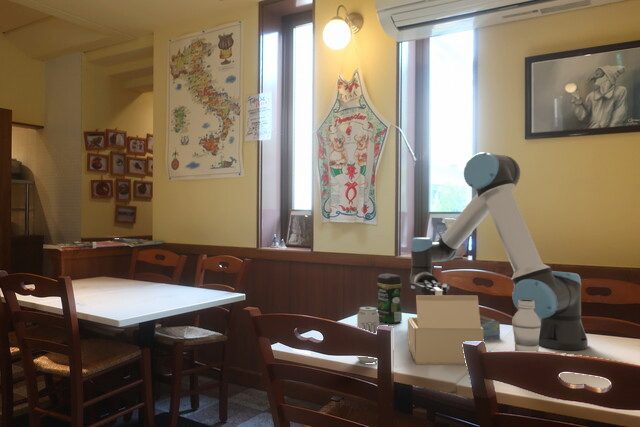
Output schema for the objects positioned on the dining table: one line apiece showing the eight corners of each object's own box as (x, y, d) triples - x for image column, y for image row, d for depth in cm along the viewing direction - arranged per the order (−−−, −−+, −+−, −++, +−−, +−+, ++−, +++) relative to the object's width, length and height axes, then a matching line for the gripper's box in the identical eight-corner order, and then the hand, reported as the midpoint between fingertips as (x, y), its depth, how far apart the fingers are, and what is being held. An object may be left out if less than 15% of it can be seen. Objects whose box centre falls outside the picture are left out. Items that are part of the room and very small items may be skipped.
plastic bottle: (547, 386, 114) (546, 302, 115) (520, 387, 114) (519, 302, 114) (533, 377, 121) (532, 297, 121) (507, 378, 120) (507, 298, 121)
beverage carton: (480, 341, 157) (480, 320, 157) (448, 328, 176) (447, 310, 176) (500, 339, 160) (500, 319, 160) (466, 326, 178) (466, 309, 178)
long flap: (477, 295, 134) (477, 295, 134) (480, 328, 131) (481, 328, 130) (416, 295, 135) (416, 295, 134) (417, 328, 132) (418, 327, 131)
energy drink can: (359, 365, 131) (359, 310, 131) (355, 359, 137) (355, 306, 137) (381, 364, 132) (381, 310, 132) (376, 358, 138) (376, 306, 138)
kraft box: (470, 350, 145) (470, 317, 145) (484, 365, 131) (484, 328, 131) (407, 349, 146) (407, 317, 146) (414, 364, 132) (414, 328, 132)
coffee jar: (373, 320, 189) (373, 273, 189) (390, 318, 193) (390, 271, 193) (388, 324, 180) (388, 275, 181) (405, 322, 184) (405, 274, 184)
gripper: (444, 294, 167) (461, 307, 143) (407, 294, 168) (417, 307, 144) (444, 273, 167) (461, 282, 143) (407, 272, 168) (417, 282, 144)
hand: (439, 294), depth 144 cm, fingers closed
